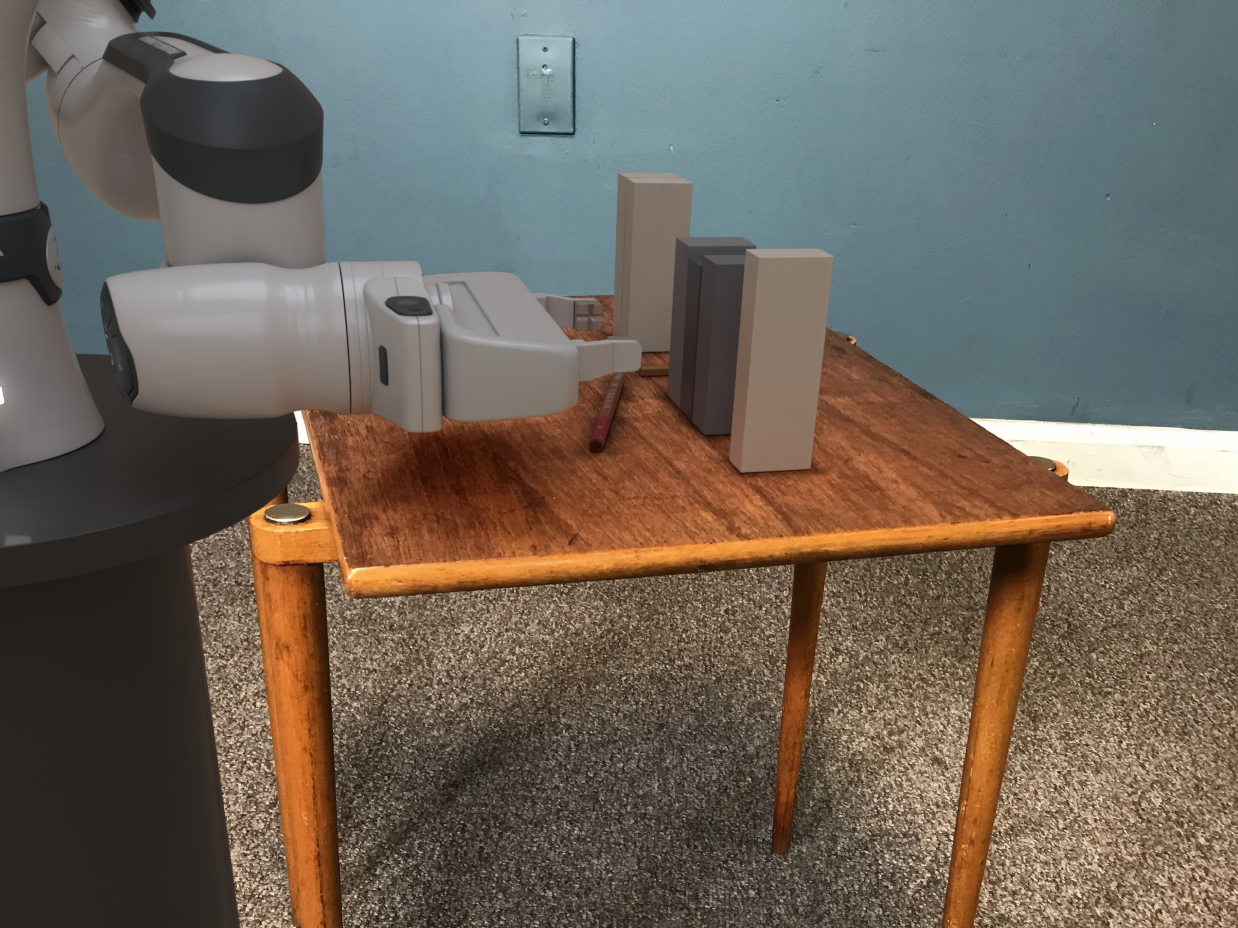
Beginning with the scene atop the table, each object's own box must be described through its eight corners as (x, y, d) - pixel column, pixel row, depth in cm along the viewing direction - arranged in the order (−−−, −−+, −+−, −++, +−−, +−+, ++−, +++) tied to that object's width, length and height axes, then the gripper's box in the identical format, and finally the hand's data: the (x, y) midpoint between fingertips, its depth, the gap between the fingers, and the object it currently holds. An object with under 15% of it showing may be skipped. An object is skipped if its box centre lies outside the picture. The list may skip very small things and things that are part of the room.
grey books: (704, 435, 91) (715, 264, 85) (667, 396, 99) (675, 237, 93) (772, 432, 92) (788, 263, 87) (730, 393, 100) (742, 236, 95)
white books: (641, 376, 104) (649, 196, 97) (604, 336, 114) (609, 172, 108) (715, 373, 105) (728, 196, 99) (673, 335, 116) (682, 172, 109)
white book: (740, 473, 84) (759, 256, 78) (728, 460, 86) (745, 248, 80) (810, 469, 86) (834, 256, 79) (797, 457, 88) (819, 248, 81)
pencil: (603, 453, 87) (603, 439, 86) (587, 452, 87) (588, 438, 86) (627, 376, 103) (627, 364, 103) (613, 375, 103) (614, 363, 103)
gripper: (381, 344, 86) (580, 339, 90) (415, 444, 69) (660, 433, 72) (376, 248, 83) (582, 247, 87) (410, 328, 66) (666, 322, 69)
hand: (618, 332), depth 79 cm, fingers open, 8 cm apart
